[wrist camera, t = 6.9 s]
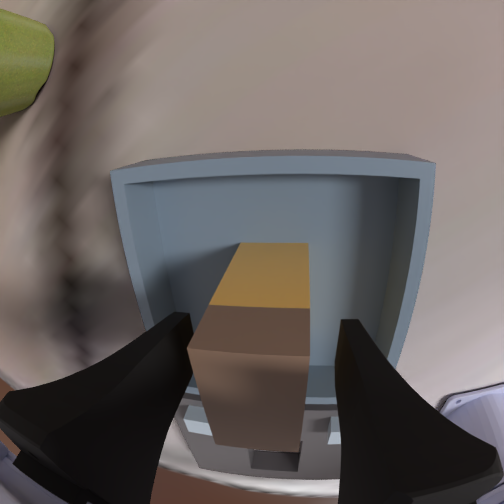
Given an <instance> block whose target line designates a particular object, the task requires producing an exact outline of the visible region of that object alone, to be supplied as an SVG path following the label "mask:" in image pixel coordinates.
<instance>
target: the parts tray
mask: <svg viewBox="0 0 504 504" xmlns="http://www.w3.org/2000/svg"><path fill="white" fill-rule="evenodd" d="M435 168H436V163H434V162H431V161H428V160H424V159H421V158H418V157H415V156H412V155H408V154H398V153H385V152H370V151H350V150H259V151H238V152H222V153H209V154H197V155H187V156H177V157H168V158H160V159H152V160H145V161H142V162H138V163H135V164H131V165H128V166H124V167H121V168H118V169H115V170H111V171H110V175H111V182H112V189H113V195H114V201H115V207H116V212H117V218H118V223H119V228H120V233H121V238H122V242H123V247H124V251H125V256H126V260H127V264H128V268H129V272H130V276H131V280H132V284H133V288H134V292H135V295H136V299H137V302H138V306H139V309H140V313H141V316H142V320H143V323H144V326H145V329H146V331H148V330H149V329H150V328H152V327H153V326H155V325H156V324H157V323H159V322H160V321H161V320H163V319H164V318H166V317H167V316H168V315H170V314H171V313H173V312H186V313H190V317H191V322H192V327H193V332H194V333H195V331H196V329H197V327H198V325H199V323H200V321H201V319H202V317H203V315H204V313H205V311H206V309H207V307H208V305H209V303H210V301H211V299H212V297H213V295H214V293H215V291H216V289H217V287H218V286H219V284H220V282H221V280H222V278H223V276H224V274H225V272H226V270H227V268H228V266H229V264H230V262H231V260H232V258H233V256H234V254H235V253H236V251H237V249H238V247H239V245H240V243H308V247H309V277H310V362H309V372H308V382H307V392H306V401H305V404H337V401H336V392H335V366H334V361H335V355H336V349H337V342H338V336H339V329H340V321H341V319H359V320H360V322H361V323H362V325H363V326H364V328H365V329H366V331H367V332H368V334H369V335H370V337H371V338H372V339H373V341H374V342H375V344H376V345H377V346H378V348H379V349H380V351H381V352H382V353H383V354H384V356H385V357H386V358H387V360H388V361H389V362H390V364H391V365H392V366H393V367H394V368H395V369H396V366H397V363H398V360H399V357H400V354H401V351H402V348H403V344H404V341H405V338H406V335H407V331H408V328H409V324H410V321H411V317H412V313H413V309H414V306H415V302H416V297H417V293H418V289H419V284H420V280H421V275H422V270H423V265H424V260H425V254H426V249H427V243H428V236H429V229H430V222H431V214H432V205H433V195H434V184H435ZM185 393H191V394H198V395H200V394H199V391H198V387H197V384H196V380H195V377H194V373H193V375H192V378H191V380H190V382H189V385H188V387H187V389H186V391H185Z"/></svg>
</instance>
